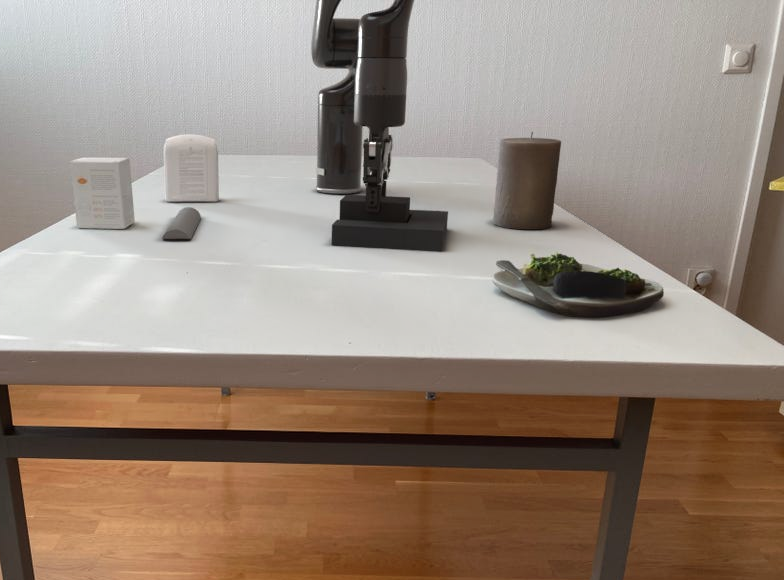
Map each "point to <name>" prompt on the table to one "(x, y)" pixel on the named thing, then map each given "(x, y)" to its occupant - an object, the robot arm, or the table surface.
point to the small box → (102, 192)
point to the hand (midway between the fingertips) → (375, 207)
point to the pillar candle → (526, 182)
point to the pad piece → (389, 212)
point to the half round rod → (183, 224)
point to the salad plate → (576, 287)
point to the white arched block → (191, 169)
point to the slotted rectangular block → (394, 232)
